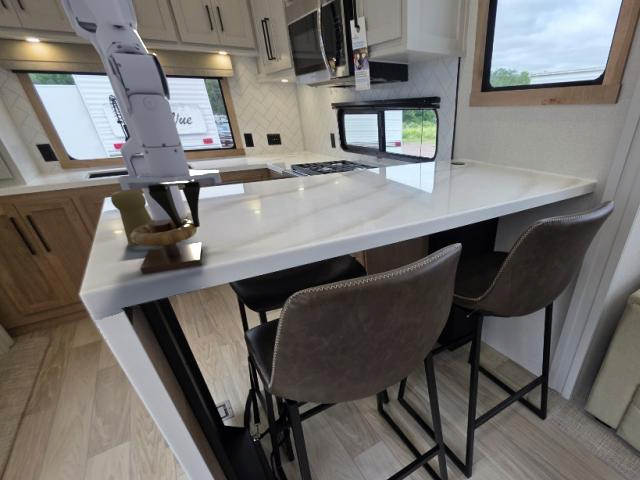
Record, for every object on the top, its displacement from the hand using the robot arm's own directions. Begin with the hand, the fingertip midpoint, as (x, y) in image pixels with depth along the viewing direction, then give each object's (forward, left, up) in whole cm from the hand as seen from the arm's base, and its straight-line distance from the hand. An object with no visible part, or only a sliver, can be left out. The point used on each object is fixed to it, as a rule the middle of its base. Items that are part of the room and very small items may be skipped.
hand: (188, 226), depth 60 cm
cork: (-11, -10, -6) cm, 16 cm away
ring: (0, -4, 0) cm, 4 cm away
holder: (0, -4, -6) cm, 7 cm away
